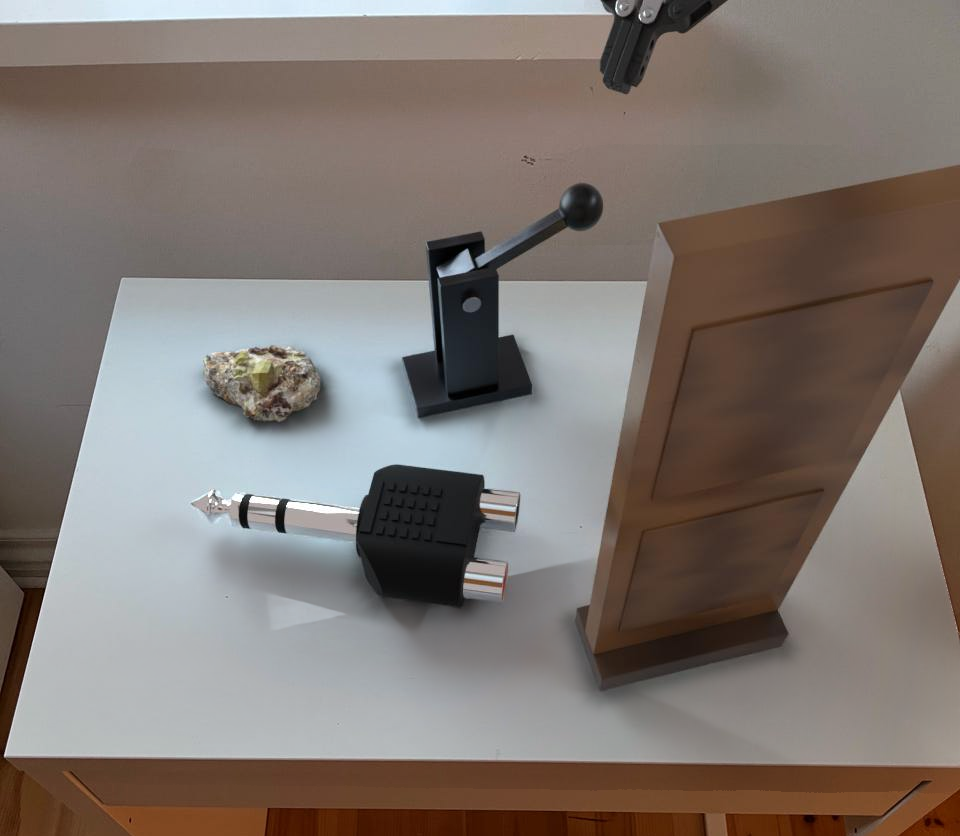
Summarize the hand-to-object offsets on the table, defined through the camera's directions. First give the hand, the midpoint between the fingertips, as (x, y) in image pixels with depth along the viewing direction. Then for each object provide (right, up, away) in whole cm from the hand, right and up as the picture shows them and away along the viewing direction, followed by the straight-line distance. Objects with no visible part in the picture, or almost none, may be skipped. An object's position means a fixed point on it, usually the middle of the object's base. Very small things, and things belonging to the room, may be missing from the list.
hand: (614, 87), depth 63 cm
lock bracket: (-10, -15, +17) cm, 25 cm away
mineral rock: (-28, -16, +17) cm, 36 cm away
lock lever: (-5, -9, +7) cm, 12 cm away
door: (+5, -37, +5) cm, 38 cm away
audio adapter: (-19, -30, +10) cm, 37 cm away
